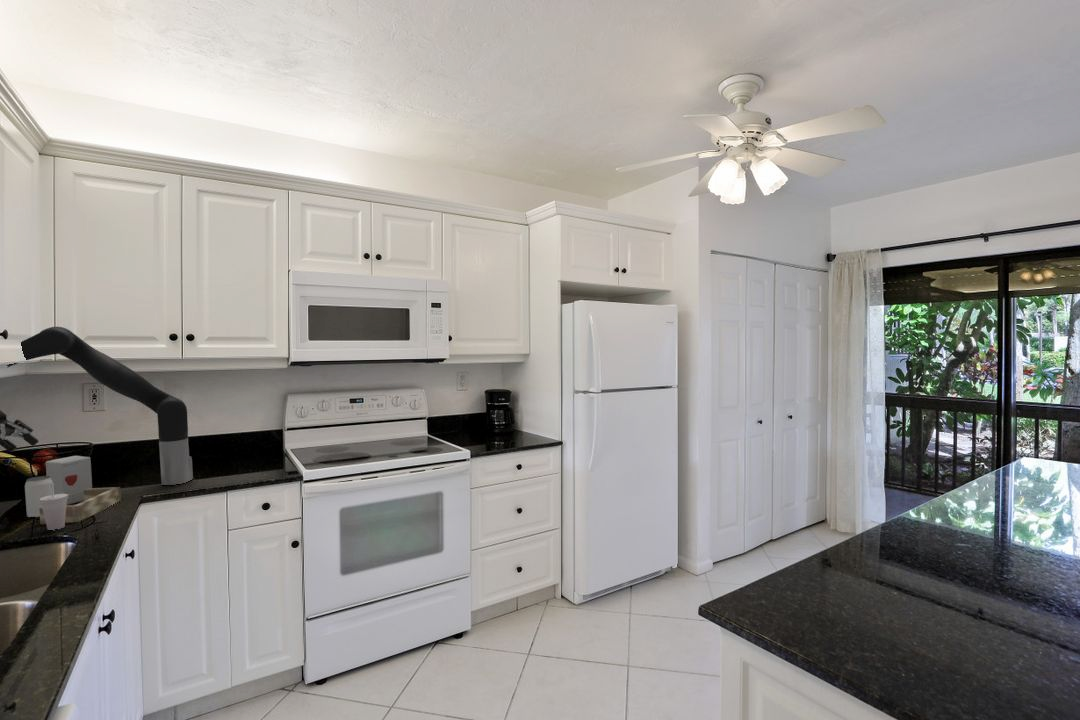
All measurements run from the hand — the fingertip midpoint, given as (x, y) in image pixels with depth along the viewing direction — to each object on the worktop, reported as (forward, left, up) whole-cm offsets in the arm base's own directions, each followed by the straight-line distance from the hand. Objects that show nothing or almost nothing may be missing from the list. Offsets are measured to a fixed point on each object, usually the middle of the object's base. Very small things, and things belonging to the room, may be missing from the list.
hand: (25, 446), depth 169 cm
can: (0, +7, -22) cm, 23 cm away
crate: (-6, +18, -22) cm, 29 cm away
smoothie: (+5, +27, -22) cm, 35 cm away
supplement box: (-11, 0, -22) cm, 25 cm away
